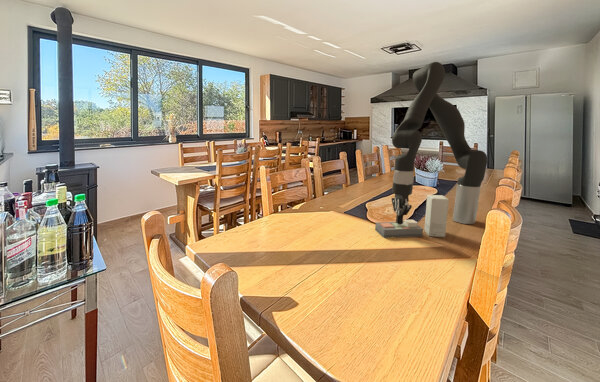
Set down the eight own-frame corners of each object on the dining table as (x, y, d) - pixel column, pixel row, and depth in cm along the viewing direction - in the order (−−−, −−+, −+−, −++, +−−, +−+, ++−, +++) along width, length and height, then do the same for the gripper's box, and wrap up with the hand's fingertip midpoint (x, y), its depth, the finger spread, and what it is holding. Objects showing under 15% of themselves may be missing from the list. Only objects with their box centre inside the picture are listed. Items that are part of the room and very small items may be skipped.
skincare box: (445, 237, 113) (450, 199, 110) (427, 236, 114) (431, 198, 111) (439, 230, 121) (444, 194, 118) (422, 229, 122) (426, 193, 119)
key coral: (389, 227, 119) (389, 223, 118) (393, 231, 115) (393, 226, 114) (380, 227, 118) (380, 223, 118) (384, 231, 114) (384, 226, 114)
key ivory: (412, 224, 120) (412, 219, 119) (417, 227, 116) (417, 222, 115) (403, 224, 119) (403, 219, 119) (407, 227, 115) (408, 222, 115)
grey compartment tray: (410, 228, 123) (411, 221, 122) (422, 236, 114) (423, 228, 113) (375, 229, 121) (375, 222, 120) (383, 237, 112) (384, 229, 111)
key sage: (400, 227, 119) (401, 222, 119) (405, 230, 115) (405, 226, 115) (391, 227, 119) (391, 223, 118) (395, 231, 115) (396, 226, 115)
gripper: (386, 178, 119) (383, 218, 122) (401, 185, 106) (397, 229, 110) (403, 178, 120) (400, 218, 123) (420, 184, 107) (416, 228, 111)
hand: (399, 223), depth 117 cm, fingers closed
